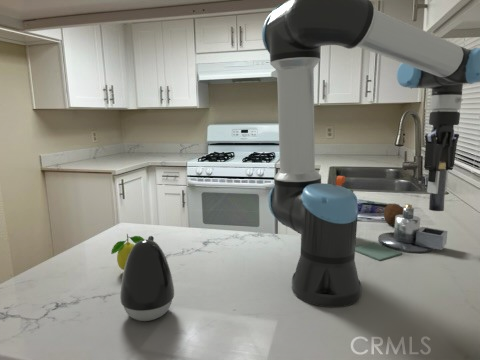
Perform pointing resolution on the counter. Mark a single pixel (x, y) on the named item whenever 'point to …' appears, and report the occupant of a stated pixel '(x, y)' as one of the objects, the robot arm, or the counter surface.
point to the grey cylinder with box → (417, 231)
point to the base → (401, 244)
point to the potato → (392, 213)
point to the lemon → (124, 250)
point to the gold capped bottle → (439, 191)
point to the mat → (377, 251)
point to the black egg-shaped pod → (146, 282)
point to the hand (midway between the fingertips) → (436, 192)
